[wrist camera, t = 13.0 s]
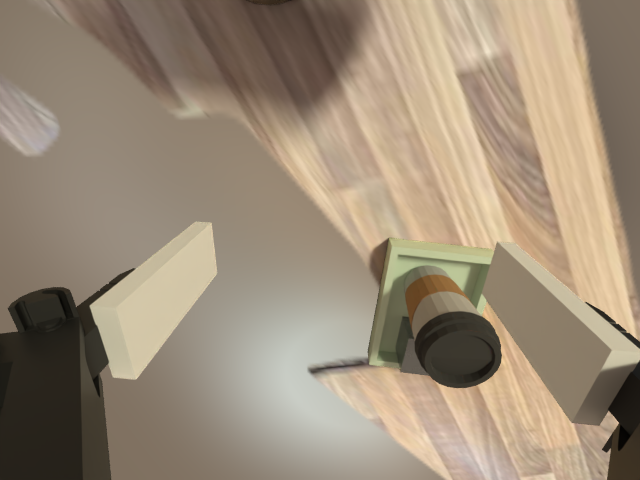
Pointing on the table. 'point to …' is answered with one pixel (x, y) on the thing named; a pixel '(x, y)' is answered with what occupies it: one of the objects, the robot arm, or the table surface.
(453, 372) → the coffee cup
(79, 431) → the robot arm
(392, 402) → the table surface
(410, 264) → the green tray
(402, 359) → the cube
